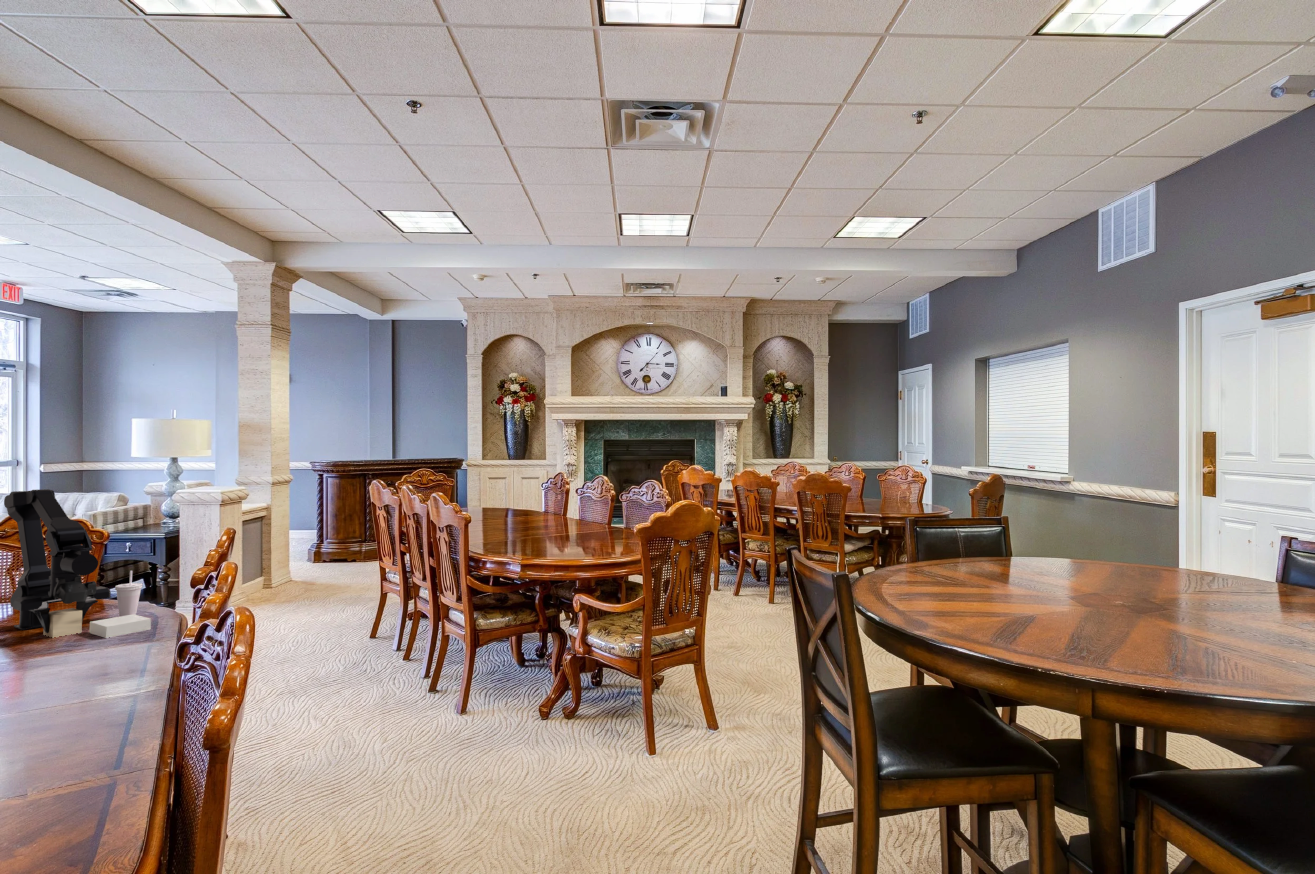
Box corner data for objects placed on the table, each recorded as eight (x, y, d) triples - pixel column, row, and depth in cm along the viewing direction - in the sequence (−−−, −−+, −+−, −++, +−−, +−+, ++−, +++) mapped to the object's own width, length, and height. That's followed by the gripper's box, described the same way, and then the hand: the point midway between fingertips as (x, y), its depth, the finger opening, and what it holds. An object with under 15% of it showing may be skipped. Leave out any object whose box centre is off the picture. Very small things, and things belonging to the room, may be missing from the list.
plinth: (89, 632, 173) (89, 621, 173) (133, 624, 182) (133, 614, 182) (106, 638, 168) (106, 626, 168) (150, 629, 177) (151, 618, 177)
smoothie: (125, 620, 186) (127, 572, 186) (107, 619, 187) (109, 571, 187) (146, 615, 192) (148, 569, 192) (129, 614, 193) (131, 568, 194)
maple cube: (43, 634, 170) (44, 612, 171) (71, 629, 176) (72, 607, 176) (52, 638, 168) (53, 615, 168) (81, 632, 173) (82, 610, 173)
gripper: (31, 580, 160) (28, 642, 160) (120, 569, 177) (118, 626, 176) (13, 576, 165) (11, 636, 165) (102, 566, 182) (100, 620, 181)
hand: (62, 629), depth 172 cm, fingers closed on maple cube, 6 cm apart
